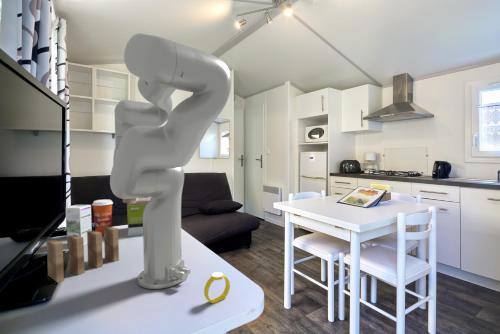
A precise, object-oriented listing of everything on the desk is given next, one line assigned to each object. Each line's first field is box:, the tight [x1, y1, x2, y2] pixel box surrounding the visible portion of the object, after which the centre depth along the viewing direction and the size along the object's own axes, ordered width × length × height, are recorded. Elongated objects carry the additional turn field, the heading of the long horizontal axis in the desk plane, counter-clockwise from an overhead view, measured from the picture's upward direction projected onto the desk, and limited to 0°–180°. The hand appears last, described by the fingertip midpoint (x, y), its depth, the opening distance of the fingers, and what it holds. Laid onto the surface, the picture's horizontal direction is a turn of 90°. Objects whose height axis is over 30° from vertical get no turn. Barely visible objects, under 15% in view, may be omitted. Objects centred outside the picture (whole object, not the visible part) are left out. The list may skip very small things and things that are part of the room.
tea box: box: [126, 197, 151, 237], centre depth 110 cm, size 15×10×15 cm
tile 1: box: [103, 226, 120, 263], centre depth 79 cm, size 5×2×10 cm, turn 59°
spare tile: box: [122, 198, 136, 204], centre depth 84 cm, size 5×2×10 cm, turn 59°
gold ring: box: [203, 271, 231, 304], centre depth 56 cm, size 6×3×6 cm, turn 128°
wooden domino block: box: [46, 239, 65, 284], centre depth 66 cm, size 5×2×10 cm, turn 59°
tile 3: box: [67, 235, 86, 276], centre depth 70 cm, size 5×2×10 cm, turn 59°
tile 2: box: [86, 229, 104, 269], centre depth 75 cm, size 5×2×10 cm, turn 59°
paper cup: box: [91, 199, 114, 236], centre depth 106 cm, size 8×8×14 cm
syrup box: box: [65, 204, 93, 247], centre depth 93 cm, size 6×6×14 cm
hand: (129, 196), depth 84 cm, fingers closed on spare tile, 4 cm apart
